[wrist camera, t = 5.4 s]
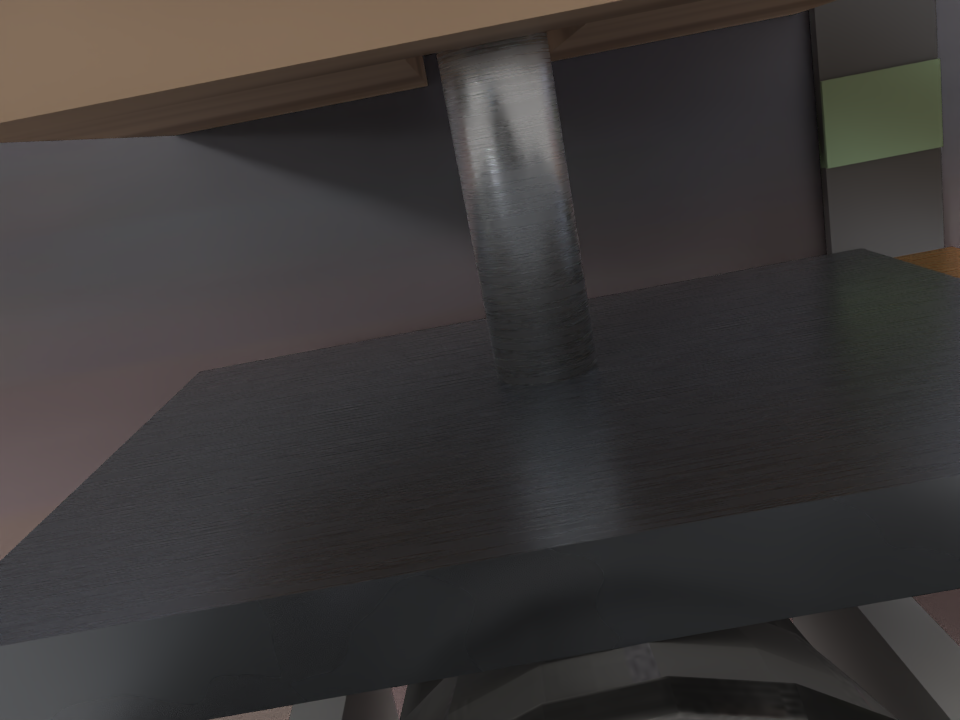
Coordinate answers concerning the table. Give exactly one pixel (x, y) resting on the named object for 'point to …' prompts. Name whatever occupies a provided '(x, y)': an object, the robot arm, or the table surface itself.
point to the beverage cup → (661, 683)
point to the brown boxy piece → (462, 23)
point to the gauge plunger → (506, 468)
